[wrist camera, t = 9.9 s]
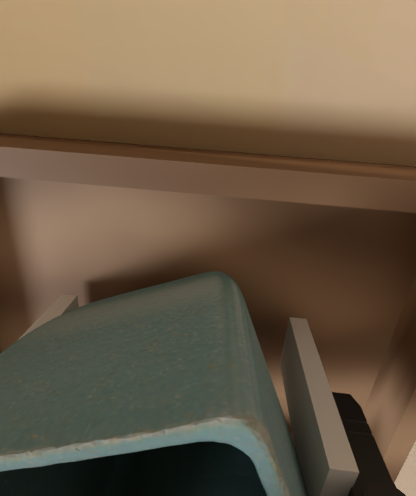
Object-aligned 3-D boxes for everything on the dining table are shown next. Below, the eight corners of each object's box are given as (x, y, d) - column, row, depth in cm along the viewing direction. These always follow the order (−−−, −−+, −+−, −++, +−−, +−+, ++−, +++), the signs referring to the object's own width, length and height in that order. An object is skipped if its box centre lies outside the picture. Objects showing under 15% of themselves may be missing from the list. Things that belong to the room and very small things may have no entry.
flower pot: (135, 407, 17) (48, 669, 9) (57, 272, 14) (-179, 488, 6) (293, 377, 16) (356, 667, 8) (243, 217, 13) (260, 415, 4)
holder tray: (359, 435, 19) (384, 501, 16) (10, 395, 20) (-32, 448, 17) (463, 171, 13) (541, 191, 10) (-58, 128, 14) (-147, 134, 10)
